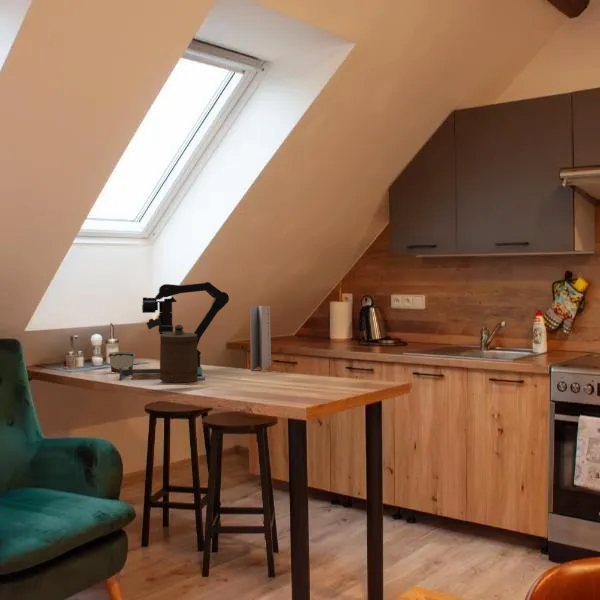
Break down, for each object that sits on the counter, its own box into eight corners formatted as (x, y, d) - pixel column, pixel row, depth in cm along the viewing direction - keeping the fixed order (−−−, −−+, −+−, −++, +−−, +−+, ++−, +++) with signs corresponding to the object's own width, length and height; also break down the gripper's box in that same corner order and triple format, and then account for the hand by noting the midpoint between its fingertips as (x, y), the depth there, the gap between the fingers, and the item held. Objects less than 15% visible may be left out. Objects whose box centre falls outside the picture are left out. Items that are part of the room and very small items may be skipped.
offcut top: (162, 376, 330) (162, 373, 330) (161, 377, 327) (161, 373, 327) (133, 377, 330) (133, 373, 330) (132, 377, 327) (132, 374, 327)
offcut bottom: (163, 380, 331) (163, 376, 331) (162, 381, 327) (162, 377, 327) (132, 380, 330) (132, 377, 330) (130, 381, 326) (130, 377, 326)
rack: (176, 375, 346) (176, 363, 346) (173, 379, 326) (173, 366, 327) (126, 376, 345) (126, 364, 345) (119, 380, 325) (119, 368, 325)
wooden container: (189, 375, 325) (189, 322, 323) (203, 381, 312) (203, 326, 310) (154, 378, 317) (154, 323, 315) (167, 384, 304) (167, 327, 302)
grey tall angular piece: (263, 374, 341) (262, 305, 341) (250, 374, 342) (249, 305, 343) (270, 372, 355) (270, 305, 355) (259, 372, 356) (258, 306, 356)
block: (201, 374, 325) (202, 377, 332) (201, 366, 326) (202, 370, 333) (177, 374, 324) (178, 378, 331) (177, 367, 325) (178, 371, 332)
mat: (205, 378, 329) (205, 375, 329) (204, 380, 319) (204, 377, 319) (176, 378, 328) (176, 376, 328) (174, 380, 318) (174, 378, 318)
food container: (139, 373, 361) (138, 351, 361) (134, 374, 355) (134, 352, 355) (112, 373, 362) (112, 351, 362) (108, 374, 356) (108, 352, 356)
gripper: (148, 312, 356) (148, 347, 356) (146, 312, 338) (146, 349, 338) (172, 312, 358) (173, 346, 358) (172, 312, 340) (173, 348, 339)
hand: (166, 347), depth 348 cm, fingers open, 9 cm apart
